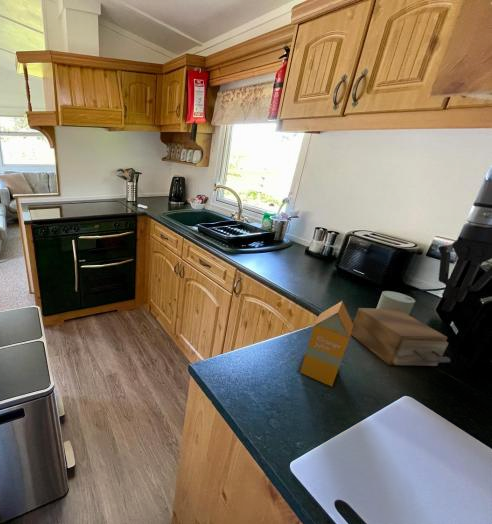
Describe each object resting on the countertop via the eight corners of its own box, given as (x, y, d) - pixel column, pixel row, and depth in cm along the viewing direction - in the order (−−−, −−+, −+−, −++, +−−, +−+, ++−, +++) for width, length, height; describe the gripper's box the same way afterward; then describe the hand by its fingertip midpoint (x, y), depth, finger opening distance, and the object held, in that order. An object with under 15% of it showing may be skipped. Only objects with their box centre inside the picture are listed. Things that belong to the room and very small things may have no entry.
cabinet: (433, 365, 84) (447, 337, 80) (388, 364, 83) (401, 336, 79) (387, 334, 98) (398, 309, 95) (349, 333, 98) (358, 307, 94)
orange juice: (337, 369, 79) (360, 305, 72) (332, 387, 73) (357, 318, 66) (306, 356, 84) (325, 295, 77) (299, 372, 77) (319, 306, 71)
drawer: (452, 376, 78) (465, 352, 75) (409, 375, 77) (420, 351, 75) (393, 336, 96) (401, 315, 93) (357, 335, 95) (364, 314, 92)
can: (408, 334, 99) (422, 303, 95) (376, 328, 102) (388, 298, 98) (396, 321, 107) (408, 292, 103) (367, 316, 110) (378, 287, 106)
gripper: (445, 220, 74) (410, 301, 83) (523, 232, 64) (475, 324, 72) (456, 219, 78) (422, 297, 86) (532, 230, 67) (485, 318, 75)
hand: (446, 309), depth 79 cm, fingers closed
